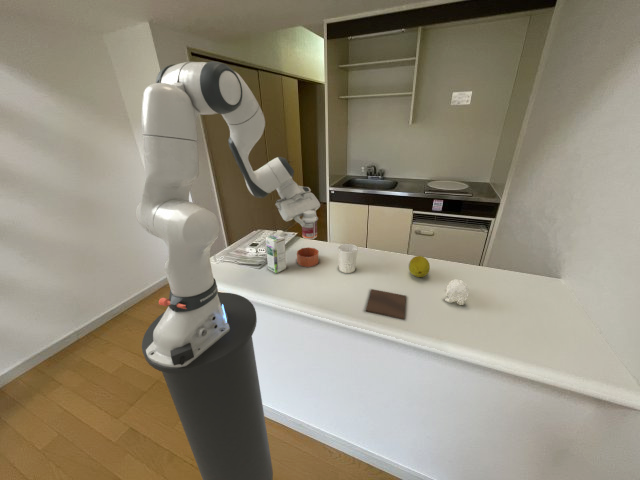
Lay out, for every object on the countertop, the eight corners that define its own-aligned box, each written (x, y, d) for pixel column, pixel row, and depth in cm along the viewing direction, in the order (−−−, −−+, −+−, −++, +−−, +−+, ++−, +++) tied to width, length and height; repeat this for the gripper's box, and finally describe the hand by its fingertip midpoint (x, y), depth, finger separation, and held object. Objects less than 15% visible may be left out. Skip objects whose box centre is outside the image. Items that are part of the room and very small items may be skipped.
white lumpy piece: (449, 283, 82) (447, 268, 93) (444, 305, 85) (442, 288, 96) (472, 287, 80) (466, 271, 91) (465, 310, 83) (461, 292, 94)
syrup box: (267, 269, 108) (264, 237, 102) (278, 263, 112) (275, 233, 106) (276, 273, 104) (273, 241, 98) (287, 268, 109) (285, 236, 102)
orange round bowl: (314, 268, 108) (314, 258, 106) (293, 264, 111) (293, 255, 109) (321, 258, 116) (321, 249, 114) (301, 254, 119) (301, 246, 117)
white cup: (333, 268, 108) (334, 247, 104) (347, 262, 113) (348, 241, 108) (346, 276, 103) (347, 254, 98) (360, 269, 107) (361, 248, 103)
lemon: (409, 267, 109) (412, 250, 105) (429, 271, 105) (432, 254, 102) (404, 279, 100) (407, 261, 97) (425, 285, 97) (429, 266, 93)
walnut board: (404, 319, 80) (404, 318, 80) (365, 311, 83) (365, 309, 83) (405, 296, 90) (405, 295, 90) (371, 290, 94) (371, 289, 93)
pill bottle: (310, 232, 111) (309, 208, 107) (320, 237, 107) (320, 211, 103) (299, 236, 107) (298, 211, 103) (308, 241, 103) (308, 215, 99)
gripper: (277, 196, 96) (297, 226, 95) (311, 186, 111) (329, 212, 109) (269, 205, 100) (289, 234, 99) (304, 195, 115) (321, 220, 114)
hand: (310, 222), depth 104 cm, fingers closed on pill bottle, 6 cm apart
